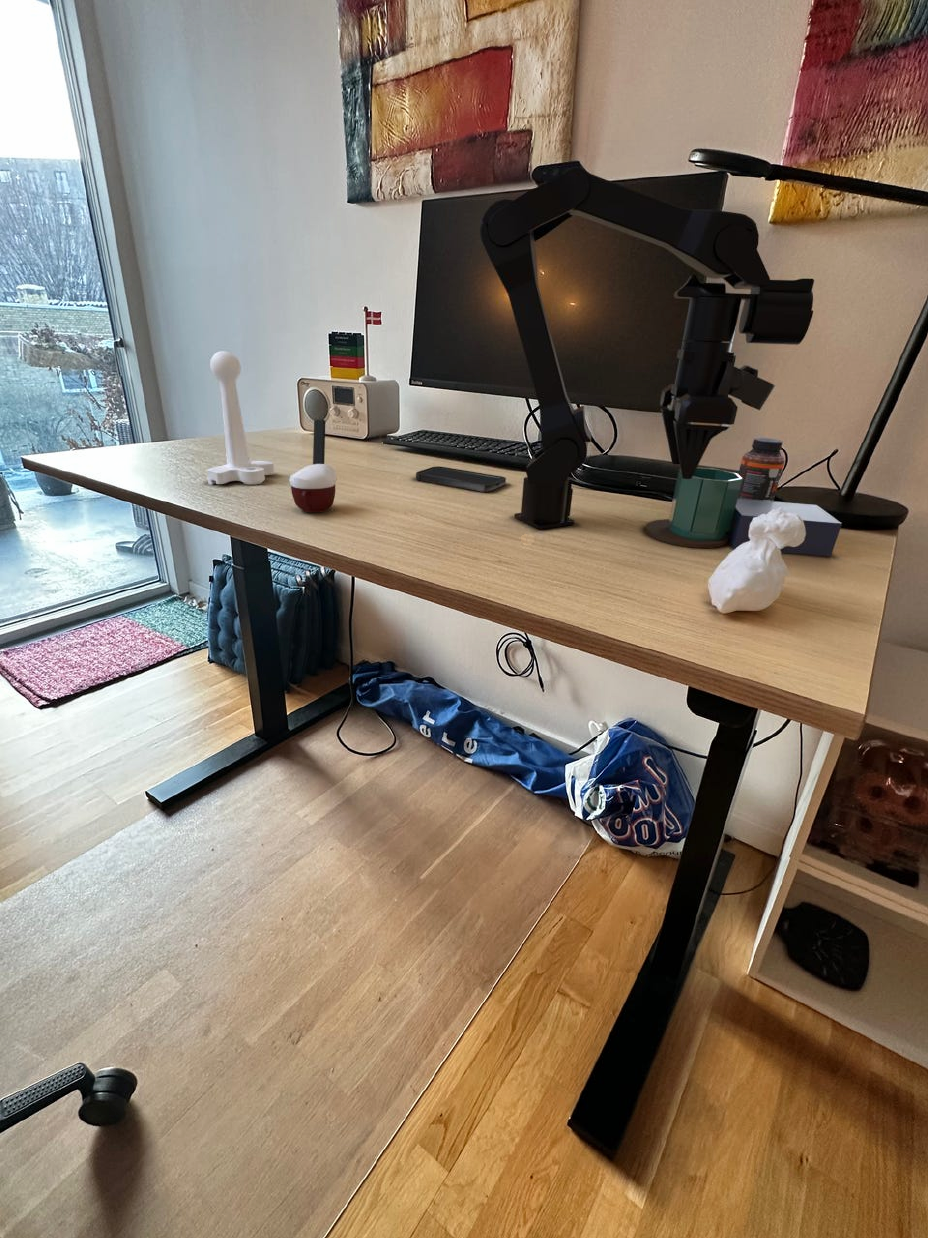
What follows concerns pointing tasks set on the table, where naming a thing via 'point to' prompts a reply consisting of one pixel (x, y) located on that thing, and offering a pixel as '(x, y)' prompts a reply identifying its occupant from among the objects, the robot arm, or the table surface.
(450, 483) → the phone
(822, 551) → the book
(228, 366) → the joystick
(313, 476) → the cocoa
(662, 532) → the coaster
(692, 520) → the cup
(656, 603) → the table surface
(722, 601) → the white tied sack
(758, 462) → the supplement bottle
